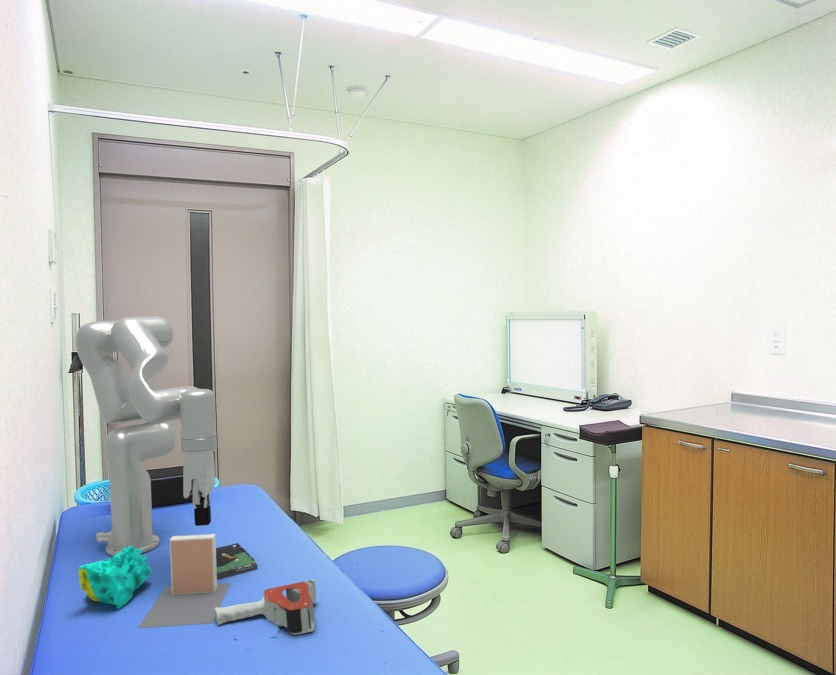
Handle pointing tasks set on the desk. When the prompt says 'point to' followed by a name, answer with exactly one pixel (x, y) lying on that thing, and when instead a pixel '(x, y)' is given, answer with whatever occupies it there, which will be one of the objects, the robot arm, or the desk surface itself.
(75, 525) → the desk surface
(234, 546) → the disk drive
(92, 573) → the teal sponge
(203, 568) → the tile
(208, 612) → the mat
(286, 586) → the tape dispenser
